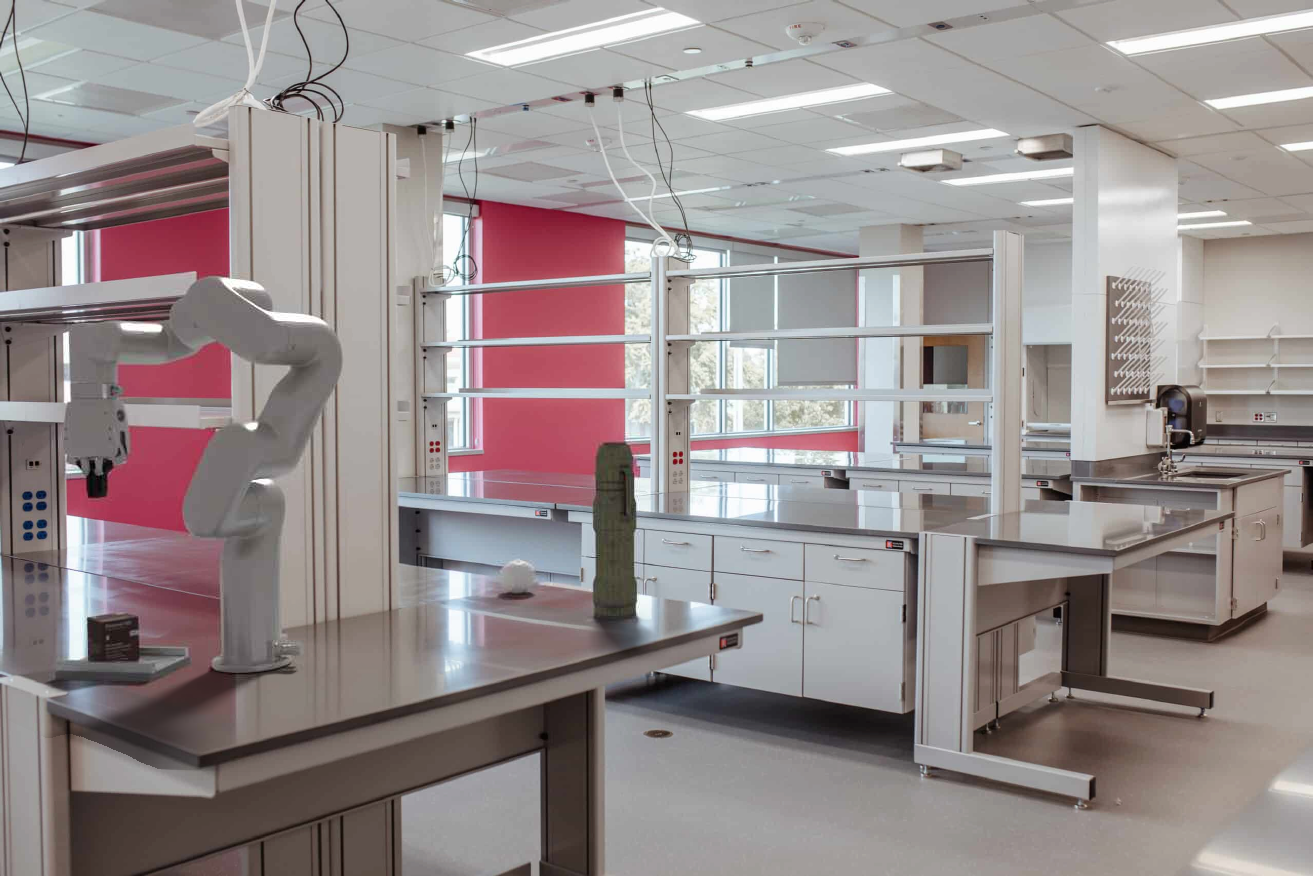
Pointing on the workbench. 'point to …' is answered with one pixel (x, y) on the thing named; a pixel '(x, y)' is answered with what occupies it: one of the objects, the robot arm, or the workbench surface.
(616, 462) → the thermos
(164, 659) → the panel
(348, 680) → the workbench surface
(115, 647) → the box
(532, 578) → the white ball
